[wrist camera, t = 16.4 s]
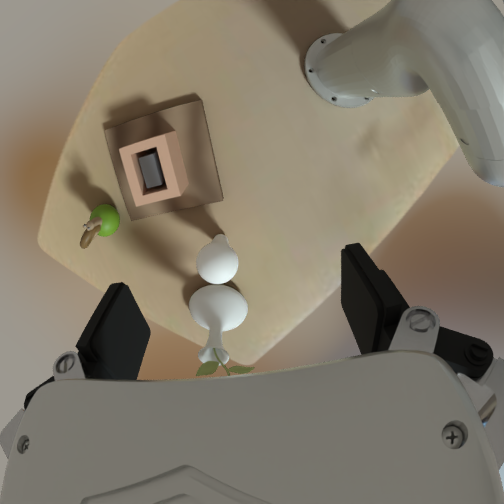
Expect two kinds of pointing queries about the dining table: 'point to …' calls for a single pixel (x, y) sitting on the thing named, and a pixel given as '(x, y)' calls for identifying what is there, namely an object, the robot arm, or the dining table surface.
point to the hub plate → (189, 152)
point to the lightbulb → (217, 261)
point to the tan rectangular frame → (170, 166)
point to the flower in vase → (217, 323)
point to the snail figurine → (100, 224)
